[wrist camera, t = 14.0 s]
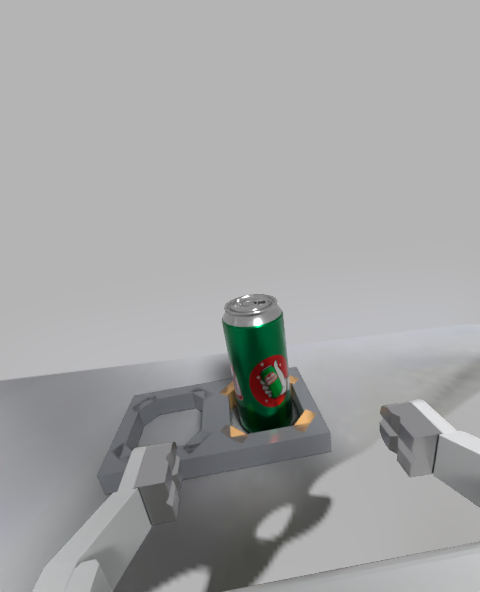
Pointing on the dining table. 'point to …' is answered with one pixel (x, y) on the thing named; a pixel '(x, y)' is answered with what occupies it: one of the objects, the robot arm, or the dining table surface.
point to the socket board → (217, 432)
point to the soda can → (258, 361)
